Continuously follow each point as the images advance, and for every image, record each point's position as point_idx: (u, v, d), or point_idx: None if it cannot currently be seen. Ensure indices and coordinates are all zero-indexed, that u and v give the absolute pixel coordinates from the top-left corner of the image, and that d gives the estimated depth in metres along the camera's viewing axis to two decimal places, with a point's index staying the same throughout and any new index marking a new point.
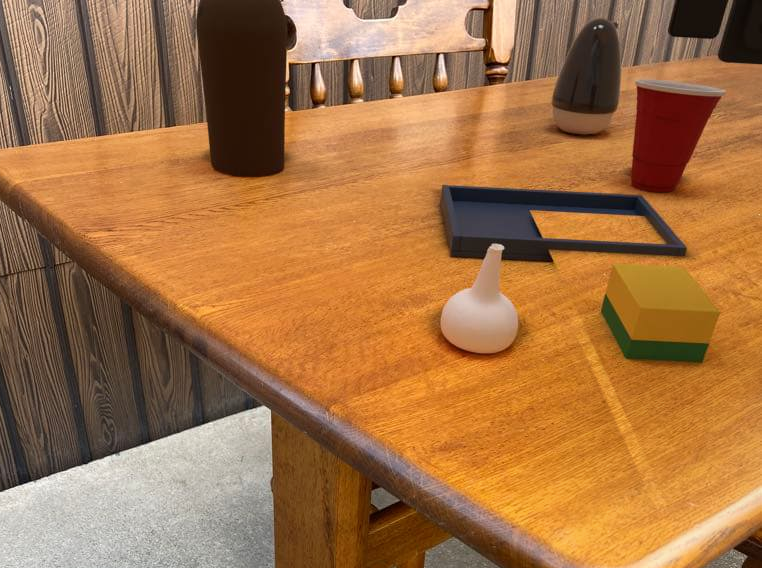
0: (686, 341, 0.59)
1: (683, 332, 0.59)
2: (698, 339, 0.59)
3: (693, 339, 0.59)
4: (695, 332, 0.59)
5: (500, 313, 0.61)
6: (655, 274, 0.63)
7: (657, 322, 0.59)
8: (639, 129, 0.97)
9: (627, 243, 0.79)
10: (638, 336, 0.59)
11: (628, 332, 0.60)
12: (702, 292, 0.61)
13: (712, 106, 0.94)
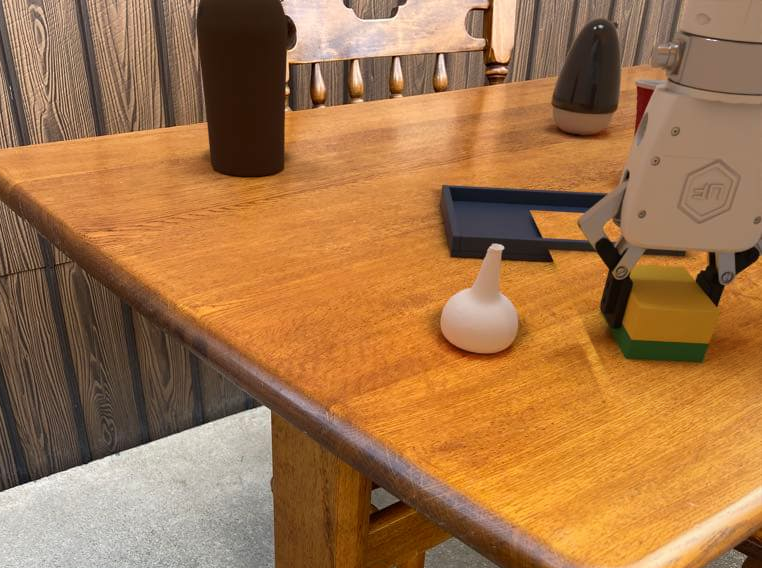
0: (686, 341, 0.59)
1: (683, 332, 0.59)
2: (698, 339, 0.59)
3: (693, 339, 0.59)
4: (695, 332, 0.59)
5: (500, 313, 0.61)
6: (655, 275, 0.63)
7: (657, 322, 0.59)
8: None
9: None
10: (638, 336, 0.59)
11: (628, 332, 0.60)
12: (702, 292, 0.61)
13: None
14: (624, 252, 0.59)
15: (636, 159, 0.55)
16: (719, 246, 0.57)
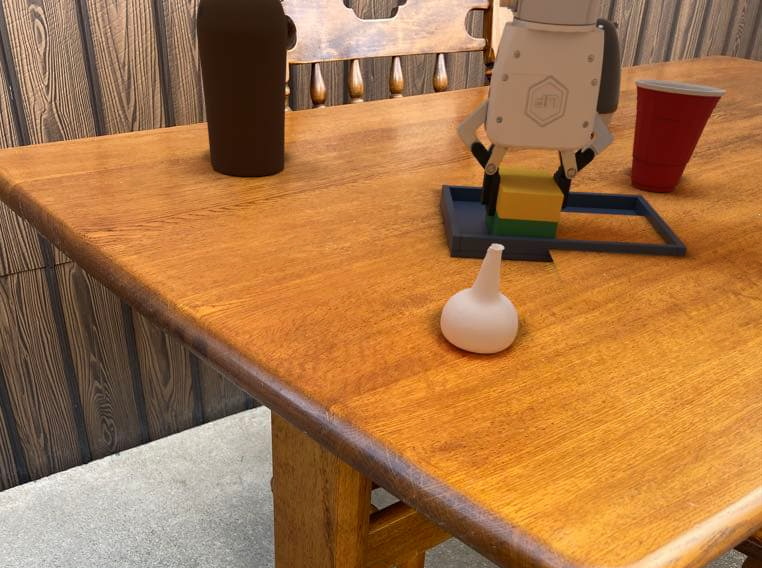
0: (540, 220, 0.78)
1: (537, 212, 0.78)
2: (549, 218, 0.78)
3: (546, 218, 0.78)
4: (546, 212, 0.78)
5: (500, 313, 0.61)
6: (523, 173, 0.82)
7: (517, 204, 0.77)
8: (639, 129, 0.97)
9: (627, 243, 0.79)
10: (504, 215, 0.78)
11: (498, 213, 0.79)
12: (555, 184, 0.79)
13: (712, 106, 0.94)
14: (492, 152, 0.77)
15: (493, 77, 0.73)
16: (559, 145, 0.75)
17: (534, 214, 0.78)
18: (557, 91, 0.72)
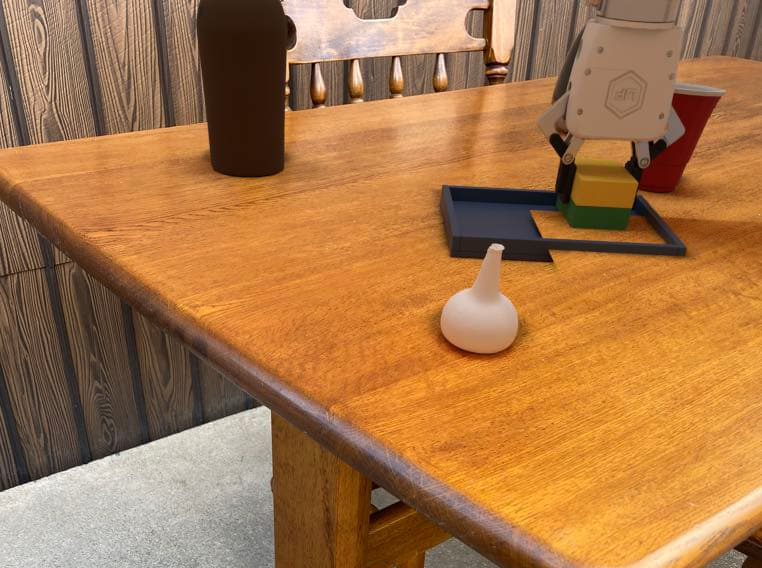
0: (615, 206, 0.83)
1: (612, 199, 0.82)
2: (624, 204, 0.83)
3: (620, 204, 0.83)
4: (621, 199, 0.82)
5: (500, 313, 0.61)
6: (595, 163, 0.86)
7: (593, 191, 0.82)
8: None
9: (627, 243, 0.79)
10: (580, 202, 0.82)
11: (574, 201, 0.83)
12: (628, 172, 0.84)
13: (712, 106, 0.94)
14: (569, 143, 0.82)
15: (575, 72, 0.78)
16: (635, 136, 0.80)
17: (609, 201, 0.82)
18: (636, 85, 0.77)
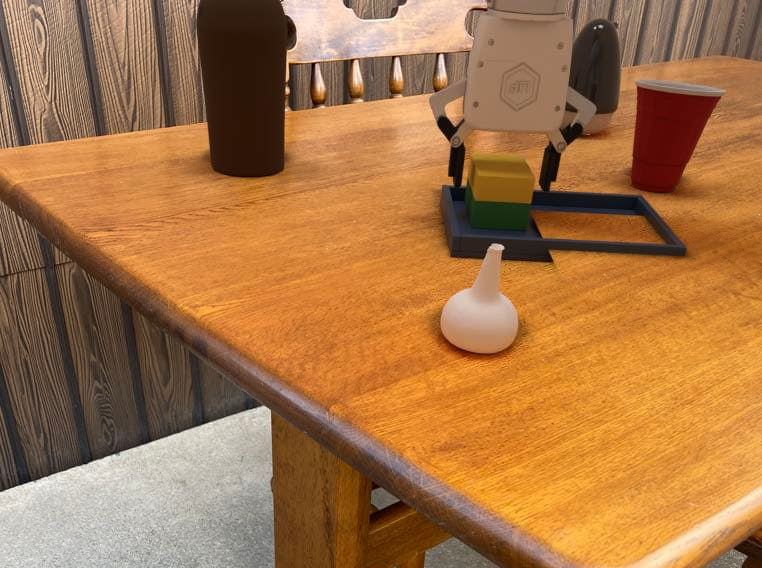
0: (514, 201, 0.83)
1: (511, 194, 0.82)
2: (522, 200, 0.83)
3: (519, 200, 0.83)
4: (519, 194, 0.82)
5: (500, 313, 0.61)
6: (498, 159, 0.86)
7: (491, 186, 0.82)
8: (639, 129, 0.97)
9: (627, 243, 0.79)
10: (479, 198, 0.83)
11: (474, 196, 0.84)
12: (528, 168, 0.84)
13: (712, 106, 0.94)
14: (460, 126, 0.81)
15: (469, 64, 0.78)
16: (533, 128, 0.80)
17: (508, 196, 0.82)
18: (529, 77, 0.77)
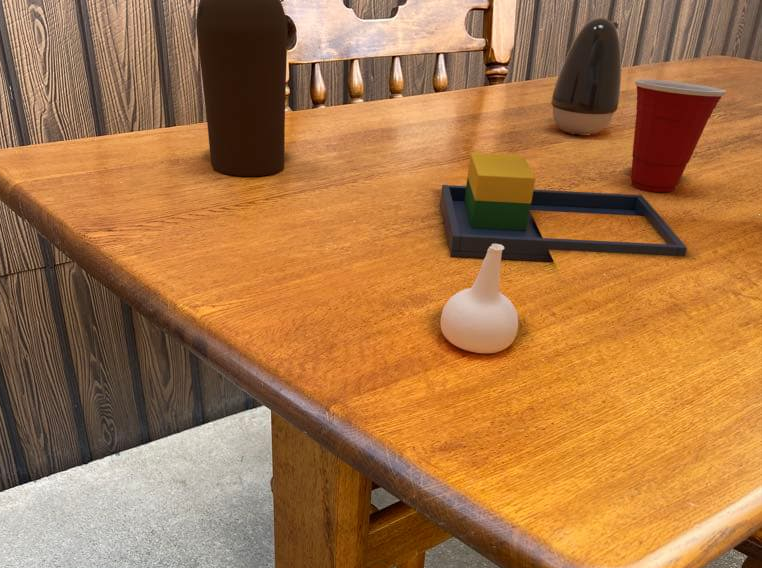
0: (514, 201, 0.83)
1: (511, 194, 0.82)
2: (522, 200, 0.83)
3: (519, 200, 0.83)
4: (519, 194, 0.82)
5: (500, 313, 0.61)
6: (498, 159, 0.86)
7: (491, 186, 0.82)
8: (639, 129, 0.97)
9: (627, 243, 0.79)
10: (479, 198, 0.83)
11: (474, 196, 0.84)
12: (528, 168, 0.84)
13: (712, 106, 0.94)
14: None
15: None
16: None
17: (508, 196, 0.82)
18: None
